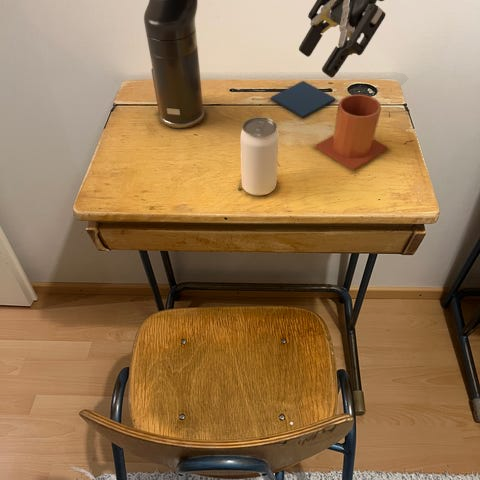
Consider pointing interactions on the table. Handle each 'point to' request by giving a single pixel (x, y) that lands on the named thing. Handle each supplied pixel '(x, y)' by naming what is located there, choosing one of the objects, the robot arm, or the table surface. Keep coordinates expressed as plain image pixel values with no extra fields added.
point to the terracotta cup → (355, 125)
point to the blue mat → (303, 99)
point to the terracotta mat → (351, 162)
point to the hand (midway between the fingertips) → (314, 63)
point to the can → (259, 155)
